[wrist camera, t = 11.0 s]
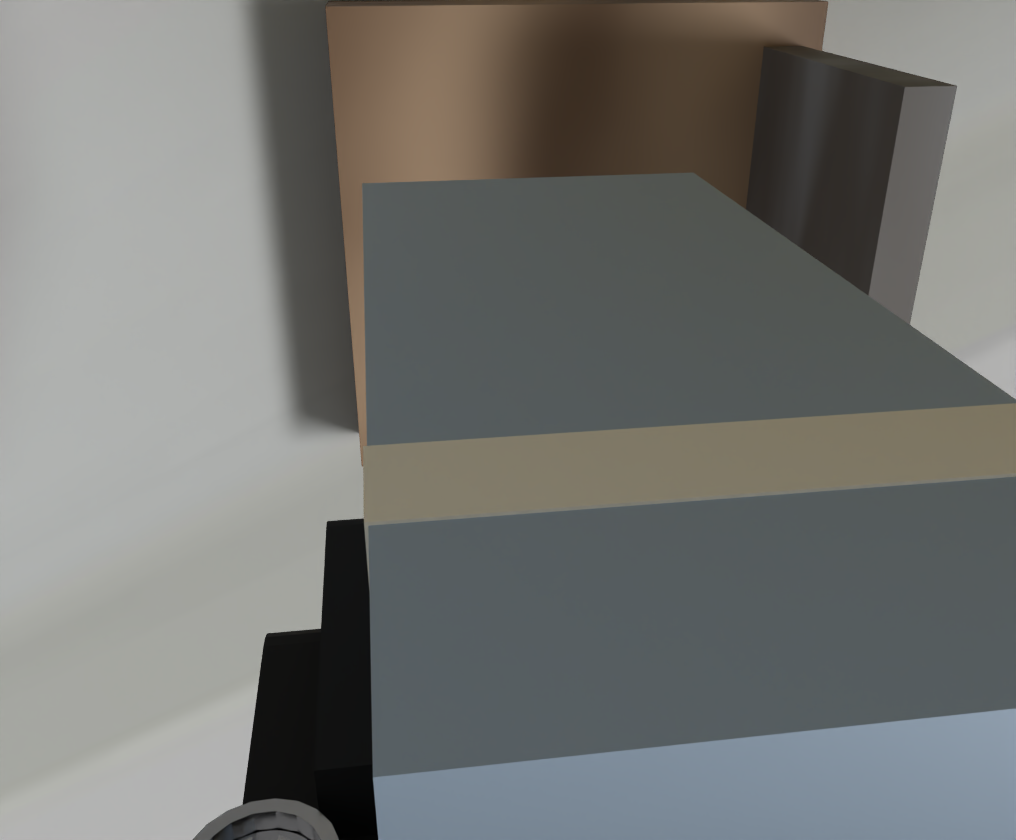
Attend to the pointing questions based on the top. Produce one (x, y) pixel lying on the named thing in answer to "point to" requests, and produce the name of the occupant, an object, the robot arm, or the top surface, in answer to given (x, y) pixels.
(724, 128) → the brown l-shaped piece
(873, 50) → the top surface
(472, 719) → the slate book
